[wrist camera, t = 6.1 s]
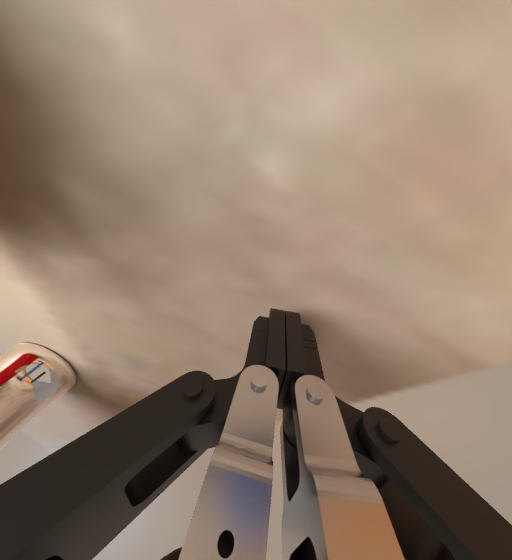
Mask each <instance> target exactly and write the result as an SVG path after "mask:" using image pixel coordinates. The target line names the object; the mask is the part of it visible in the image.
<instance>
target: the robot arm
mask: <svg viewBox="0 0 512 560" xmlns="http://www.w3.org/2000/svg"><path fill="white" fill-rule="evenodd" d="M317 349H318V348H317V343H316V339H315V334H314V332H313V330H312V329H311V328H310V326H309V325H306V324H301V319H300V314H299V313H295V312H289V311H283V310H278V309H272V308H271V309H270V314H269V318H267V317H262V316H259V317H258V318H257V319H256V320H255V321H254V324H253V329H252V334H251V339H250V343H249V348H248V353H247V358H246V362H245V366H244V368H243V369H242V371H241V372H240V373H239V374H237V375H236V376H234V377H231V378H228V379H221V380H213V378H212V377H211V376H210V375H209V374H207V373H205V372H202V371H192V372H188V373H186V374H184V375H182V376H181V377H179V378H177V379H176V380H174V381H172V382H171V383H169V384H167V385H166V386H164V387H162V388H161V389H159V390H157V391H156V392H154V393H152V394H151V395H149V396H147V397H146V398H144V399H142V400H141V401H139V402H137V403H136V404H134V405H132V406H131V407H129V408H127V409H126V410H124V411H122V412H121V413H119V414H117V415H116V416H114V417H112V418H111V419H109V420H107V421H106V422H104V423H102V424H101V425H99V426H97V427H96V428H94V429H92V430H91V431H89V432H87V433H86V434H84V435H82V436H81V437H79V438H77V439H76V440H74V441H72V442H71V443H69V444H67V445H66V446H64V447H62V448H61V449H59V450H57V451H56V452H54V453H52V454H51V455H49V456H48V457H46V458H44V459H43V460H41V461H39V462H38V463H36V464H34V465H32V466H31V467H29V468H28V469H26V470H24V471H22V472H21V473H19V474H18V475H16V476H14V477H13V478H11V479H9V480H8V481H6V482H4V483H3V484H1V485H0V560H92V559H93V558H94V557H95V556H96V555H97V554H98V553H99V552H100V551H101V550H102V549H103V548H104V547H106V546H107V545H108V544H109V543H110V542H111V541H112V540H113V539H114V538H115V537H116V536H117V535H118V534H119V533H120V532H121V531H122V530H123V529H124V528H125V527H126V526H127V525H128V524H129V523H131V521H133V520H134V519H135V518H136V517H137V516H138V515H139V514H140V513H141V512H142V511H143V510H144V509H145V508H146V507H147V506H148V505H149V504H150V503H151V502H153V501H154V500H155V498H157V497H158V496H159V495H160V494H161V493H162V492H163V491H164V490H165V489H166V488H167V487H168V486H169V485H170V484H171V483H172V482H173V481H174V480H175V479H177V478H178V477H179V476H180V474H182V473H183V472H184V471H185V470H186V469H187V468H188V467H189V466H190V465H191V464H192V463H193V462H194V461H195V460H196V459H197V458H198V457H199V456H201V455H202V454H203V453H204V452H205V451H206V450H207V449H208V448H212V447H215V450H214V452H213V455H212V458H211V461H210V464H209V467H208V470H207V473H206V476H205V479H204V482H203V485H202V488H201V491H200V495H199V498H198V501H197V504H196V507H195V510H194V513H193V516H192V519H191V522H190V526H189V529H188V532H187V535H186V538H185V541H184V544H183V547H181V548H179V549H176V550H174V551H173V552H171V553H170V554H168V555H167V556H165V557H163V558H162V559H161V560H265V559H266V548H267V537H268V526H269V515H270V514H269V513H270V504H271V492H272V480H273V461H272V448H273V439H274V429H275V419H276V409H277V408H279V409H283V421H282V424H281V427H280V440H281V459H282V477H283V496H284V505H283V515H282V554H283V555H282V556H283V560H512V525H511V524H510V523H509V522H508V521H506V520H505V519H504V518H503V517H502V516H501V515H500V514H499V513H498V512H497V511H496V510H495V509H494V508H493V507H492V506H490V505H489V504H488V503H487V502H486V501H485V500H484V499H483V498H482V497H481V496H480V495H479V494H478V493H477V492H475V491H474V490H473V489H472V488H471V487H470V486H469V485H468V484H467V483H466V482H465V481H464V480H463V479H461V477H459V476H458V475H457V474H456V473H455V472H454V471H453V470H452V469H451V468H450V467H449V466H447V464H445V463H444V462H443V461H442V460H441V459H440V458H439V457H438V456H437V455H436V454H435V453H434V452H433V451H432V450H430V449H429V448H428V447H427V446H426V445H425V444H424V443H423V442H422V441H421V440H420V439H419V438H418V437H417V436H416V435H414V434H413V433H412V432H411V431H410V430H409V429H408V428H407V427H406V426H405V425H404V424H403V423H402V422H401V421H399V420H398V419H397V418H396V417H395V416H394V415H392V414H391V413H389V412H388V411H386V410H383V409H381V408H377V407H371V408H368V409H367V410H366V411H365V412H362V411H360V410H358V409H356V408H354V407H352V406H350V405H348V404H346V403H344V402H343V401H341V400H340V399H338V398H337V397H336V396H335V394H334V392H333V390H332V389H331V387H330V386H329V385H328V384H327V383H326V382H325V380H324V376H323V371H322V366H321V362H320V357H319V352H318V350H317Z"/></svg>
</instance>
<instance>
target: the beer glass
mask: <svg viewBox="0 0 512 560" xmlns="http://www.w3.org/2000/svg"><path fill="white" fill-rule="evenodd" d="M75 383H76V374H75V372H74V370H73V369H72V367H71V366H70V365H69V364H68V363H67V362H66V361H65V360H64V359H63V358H61V357H60V356H59V355H57V354H56V353H54V352H53V351H51V350H49V349H47V348H45V347H42V346H40V345H37V344H33V343H27V342H22V343H17V344H14V345H12V346H11V347H9V348H8V349H7V350H5V351H4V352H3V353H2V354H0V451H1V450H2V449H3V447H4V446H5V445H6V444H7V443H8V442H9V441H10V440H11V439H12V437H14V436H15V435H16V433H18V432H19V431H20V430H21V429H22V428H23V427H24V426H25V425H26V424H27V423H28V422H29V421H30V420H31V419H32V418H33V417H35V416H36V415H37V414H38V413H39V412H41V411H42V410H43V409H44V408H46V407H47V406H48V405H50V404H51V403H52V402H54V401H55V400H56V399H58V398H59V397H61V396H62V395H63V394H65V393H66V392H67V391H69V390H70V389H71V388H72V387H73V386H74V385H75Z"/></svg>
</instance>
